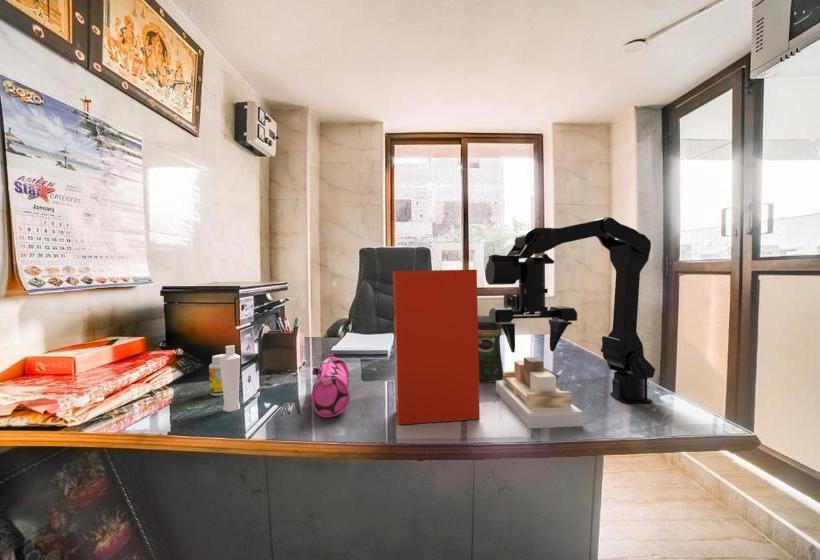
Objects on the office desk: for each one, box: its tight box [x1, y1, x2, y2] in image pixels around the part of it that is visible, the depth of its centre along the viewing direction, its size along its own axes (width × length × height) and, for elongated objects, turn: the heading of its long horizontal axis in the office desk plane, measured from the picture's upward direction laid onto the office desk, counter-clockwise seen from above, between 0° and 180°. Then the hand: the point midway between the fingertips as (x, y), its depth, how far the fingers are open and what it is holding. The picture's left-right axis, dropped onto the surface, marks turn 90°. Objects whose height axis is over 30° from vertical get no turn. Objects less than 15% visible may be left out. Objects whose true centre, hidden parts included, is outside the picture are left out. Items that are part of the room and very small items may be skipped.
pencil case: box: [311, 353, 351, 418], centre depth 87 cm, size 21×10×10 cm, turn 13°
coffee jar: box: [478, 315, 504, 383], centre depth 104 cm, size 10×8×19 cm
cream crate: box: [530, 371, 557, 392], centre depth 77 cm, size 4×4×4 cm
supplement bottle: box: [208, 353, 226, 397], centre depth 96 cm, size 6×6×10 cm
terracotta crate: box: [513, 360, 524, 382], centre depth 87 cm, size 4×4×4 cm
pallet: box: [502, 356, 572, 409], centre depth 82 cm, size 9×17×8 cm, turn 3°
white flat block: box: [495, 379, 583, 430], centre depth 82 cm, size 11×22×3 cm, turn 3°
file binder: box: [392, 269, 481, 425], centre depth 78 cm, size 8×17×32 cm, turn 97°
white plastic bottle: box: [219, 344, 241, 413], centre depth 84 cm, size 5×4×15 cm
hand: (532, 351), depth 81 cm, fingers open, 9 cm apart
